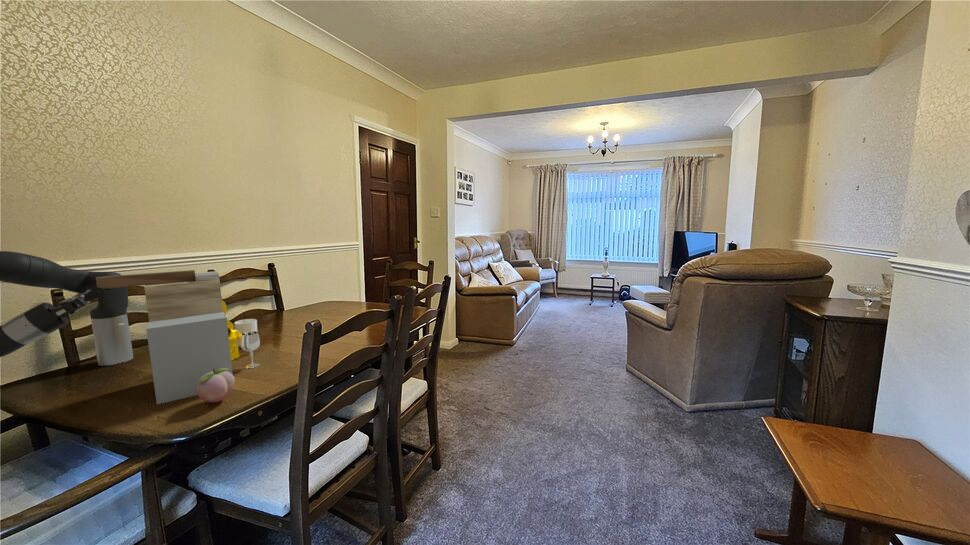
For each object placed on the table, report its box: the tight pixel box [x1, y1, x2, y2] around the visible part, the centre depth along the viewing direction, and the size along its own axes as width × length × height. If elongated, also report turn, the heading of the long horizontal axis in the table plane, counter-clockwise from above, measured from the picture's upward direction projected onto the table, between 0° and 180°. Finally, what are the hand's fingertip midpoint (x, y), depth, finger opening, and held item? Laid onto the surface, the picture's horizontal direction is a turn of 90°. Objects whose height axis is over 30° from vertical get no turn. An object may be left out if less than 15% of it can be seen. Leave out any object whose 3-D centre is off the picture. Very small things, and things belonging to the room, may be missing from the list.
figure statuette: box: [222, 300, 242, 362], centre depth 136 cm, size 18×8×22 cm, turn 149°
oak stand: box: [144, 279, 223, 322], centre depth 119 cm, size 10×18×32 cm, turn 130°
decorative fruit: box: [195, 368, 236, 403], centre depth 104 cm, size 9×8×10 cm
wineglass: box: [240, 331, 261, 369], centre depth 129 cm, size 6×6×12 cm
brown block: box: [96, 269, 220, 289], centre depth 114 cm, size 8×28×3 cm, turn 130°
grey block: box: [145, 312, 234, 405], centre depth 111 cm, size 9×18×22 cm, turn 130°
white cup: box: [233, 318, 258, 348], centre depth 152 cm, size 8×8×10 cm
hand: (105, 287), depth 106 cm, fingers open, 8 cm apart
